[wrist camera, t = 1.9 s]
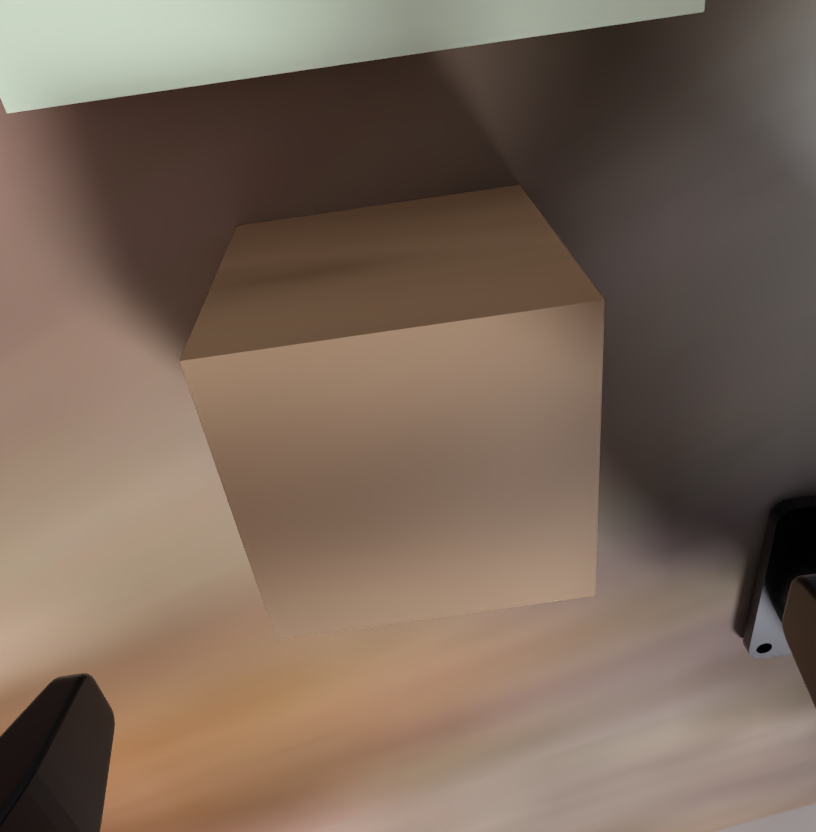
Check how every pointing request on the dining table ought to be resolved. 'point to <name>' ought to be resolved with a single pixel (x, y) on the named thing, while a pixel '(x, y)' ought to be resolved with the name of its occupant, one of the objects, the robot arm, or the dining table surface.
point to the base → (257, 38)
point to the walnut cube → (405, 410)
